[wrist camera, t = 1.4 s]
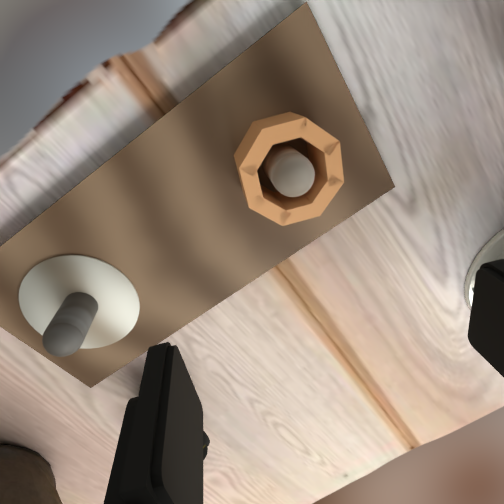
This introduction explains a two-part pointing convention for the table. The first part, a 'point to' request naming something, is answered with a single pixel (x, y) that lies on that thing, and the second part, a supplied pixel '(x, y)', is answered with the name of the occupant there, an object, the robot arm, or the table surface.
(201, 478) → the robot arm
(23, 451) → the pitcher
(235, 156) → the collar
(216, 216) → the board
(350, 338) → the table surface
